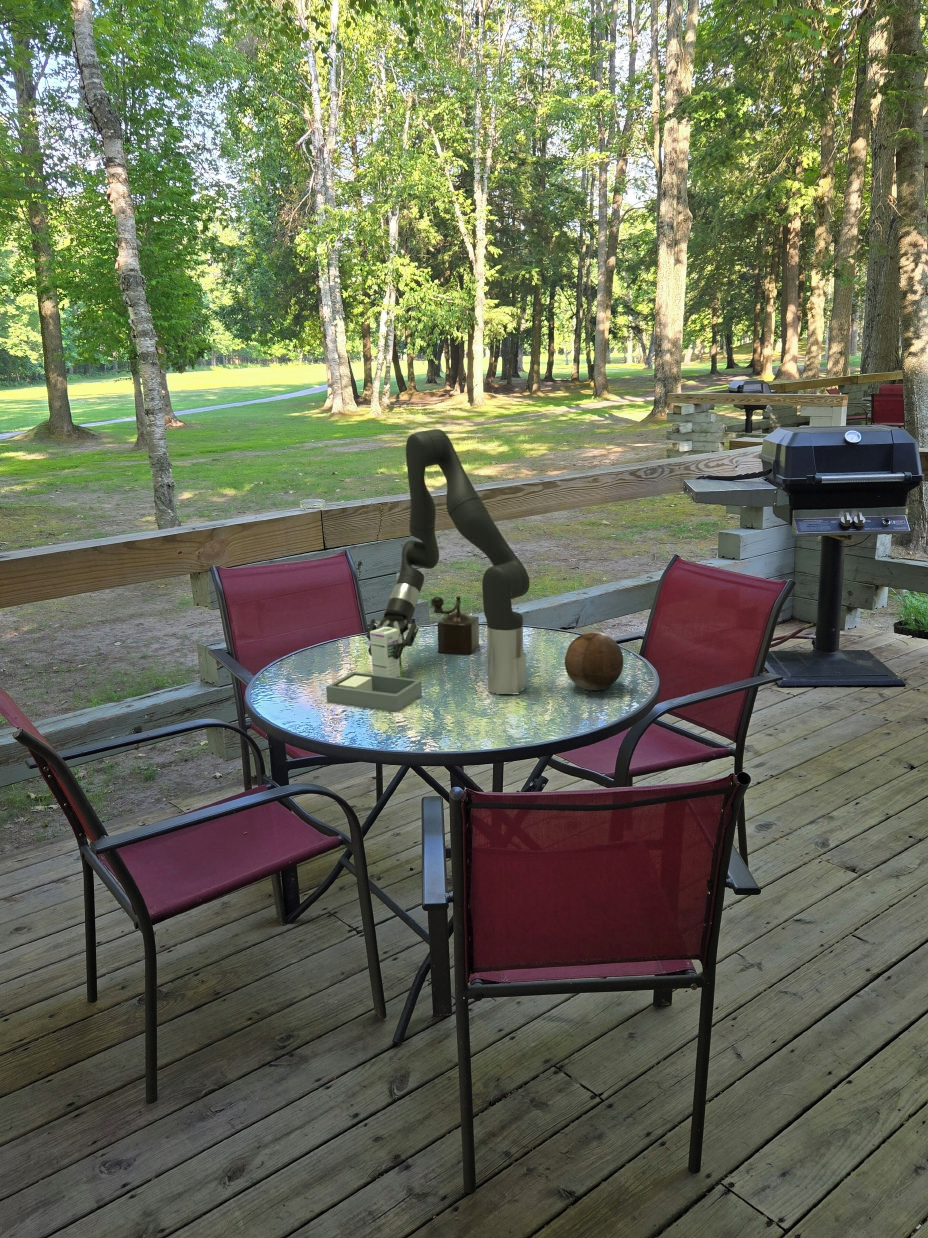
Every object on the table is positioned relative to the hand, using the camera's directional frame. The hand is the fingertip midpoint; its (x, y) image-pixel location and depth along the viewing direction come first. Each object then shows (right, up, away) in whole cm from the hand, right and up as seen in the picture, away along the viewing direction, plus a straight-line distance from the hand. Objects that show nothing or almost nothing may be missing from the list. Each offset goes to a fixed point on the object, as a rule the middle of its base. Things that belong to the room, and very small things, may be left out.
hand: (383, 656), depth 240 cm
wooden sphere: (+55, -8, -5) cm, 56 cm away
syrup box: (+1, -7, +3) cm, 8 cm away
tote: (-1, -11, -12) cm, 16 cm away
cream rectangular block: (-6, -10, -10) cm, 15 cm away
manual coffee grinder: (+19, 0, +30) cm, 36 cm away
